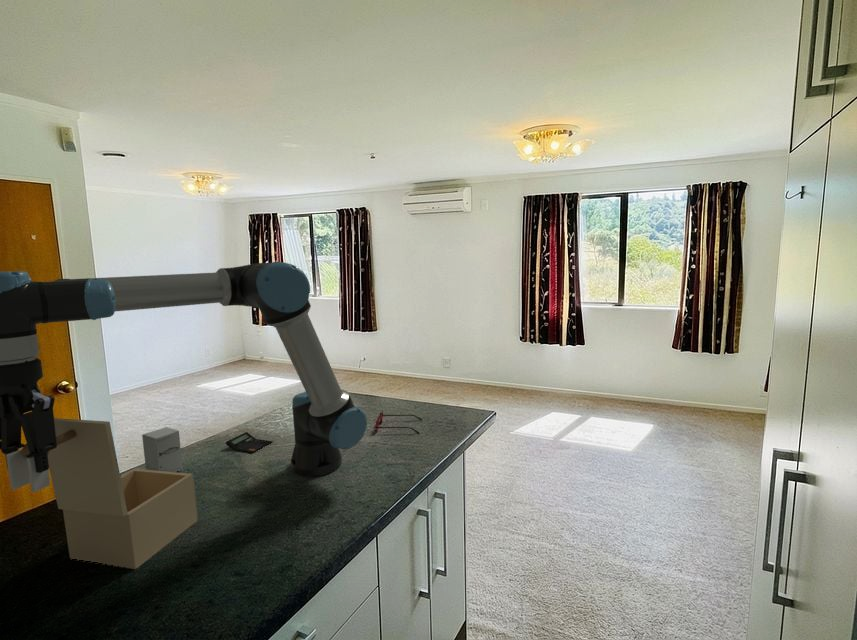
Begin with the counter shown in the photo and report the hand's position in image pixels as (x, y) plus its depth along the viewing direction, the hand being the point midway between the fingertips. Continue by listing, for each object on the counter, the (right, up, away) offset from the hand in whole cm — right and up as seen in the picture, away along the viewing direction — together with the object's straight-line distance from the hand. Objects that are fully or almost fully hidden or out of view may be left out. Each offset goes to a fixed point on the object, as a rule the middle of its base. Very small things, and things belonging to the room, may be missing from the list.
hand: (30, 486), depth 83 cm
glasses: (+61, -10, +88) cm, 108 cm away
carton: (+5, -20, +22) cm, 30 cm away
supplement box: (-8, -16, +56) cm, 59 cm away
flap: (+2, +1, +10) cm, 10 cm away
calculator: (+11, -13, +74) cm, 76 cm away
